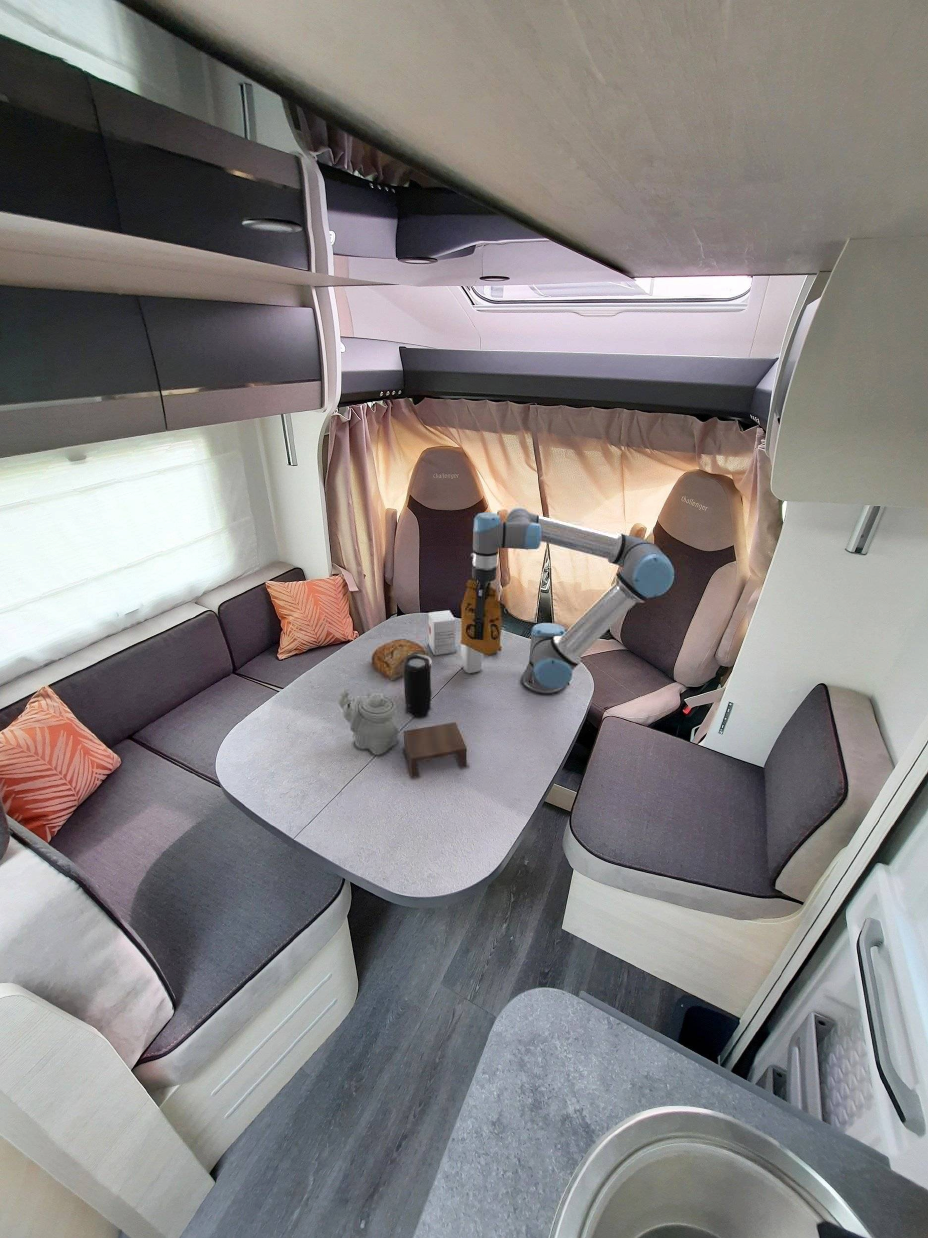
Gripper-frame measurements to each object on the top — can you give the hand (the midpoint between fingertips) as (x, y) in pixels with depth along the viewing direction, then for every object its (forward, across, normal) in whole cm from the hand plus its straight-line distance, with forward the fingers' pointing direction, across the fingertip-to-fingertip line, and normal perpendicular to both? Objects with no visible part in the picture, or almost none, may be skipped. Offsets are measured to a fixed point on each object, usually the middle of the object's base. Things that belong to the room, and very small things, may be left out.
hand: (481, 629), depth 162 cm
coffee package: (+6, 0, 0) cm, 6 cm away
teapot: (+29, +26, -29) cm, 49 cm away
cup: (+28, -20, -6) cm, 35 cm away
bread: (+29, -18, -34) cm, 48 cm away
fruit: (+28, -34, 0) cm, 44 cm away
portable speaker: (+29, +9, -19) cm, 35 cm away
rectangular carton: (+29, -32, -20) cm, 48 cm away
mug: (+29, -2, -21) cm, 36 cm away
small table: (+28, +30, -8) cm, 42 cm away
